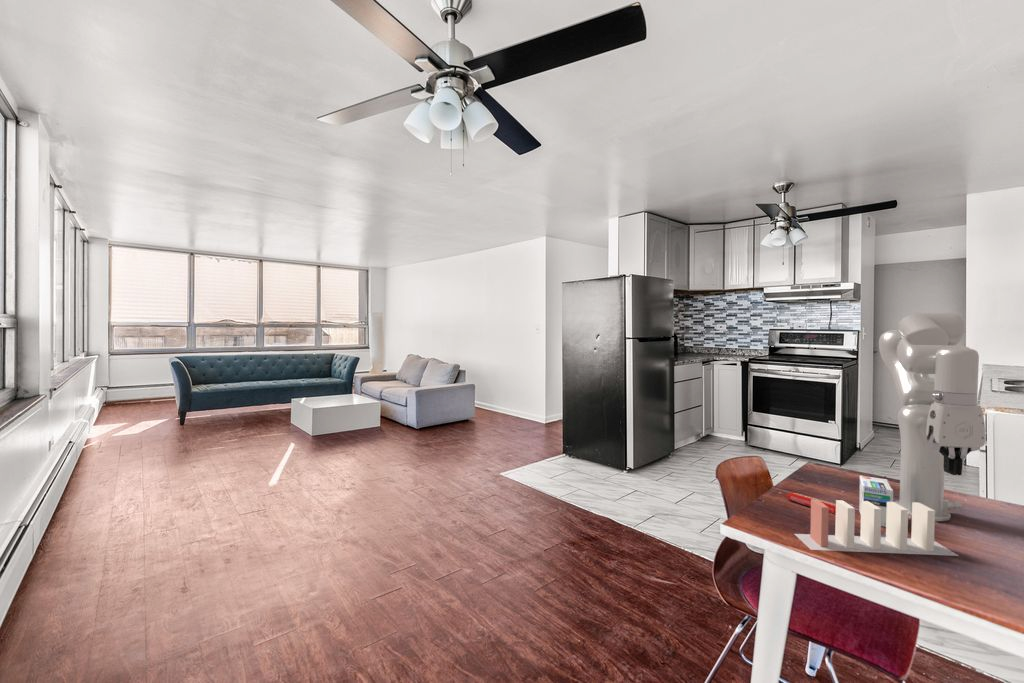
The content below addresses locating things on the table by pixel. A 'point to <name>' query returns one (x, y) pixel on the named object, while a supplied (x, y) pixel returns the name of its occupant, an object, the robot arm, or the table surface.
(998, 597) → the table surface
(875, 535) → the domino
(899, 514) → the domino
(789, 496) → the candy bar
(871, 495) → the light bulb box
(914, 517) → the domino
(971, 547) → the table surface
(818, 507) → the domino
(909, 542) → the felt strip
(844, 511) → the domino
